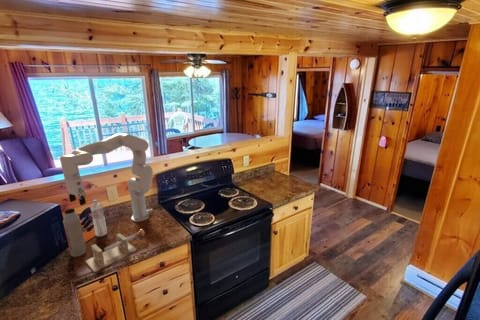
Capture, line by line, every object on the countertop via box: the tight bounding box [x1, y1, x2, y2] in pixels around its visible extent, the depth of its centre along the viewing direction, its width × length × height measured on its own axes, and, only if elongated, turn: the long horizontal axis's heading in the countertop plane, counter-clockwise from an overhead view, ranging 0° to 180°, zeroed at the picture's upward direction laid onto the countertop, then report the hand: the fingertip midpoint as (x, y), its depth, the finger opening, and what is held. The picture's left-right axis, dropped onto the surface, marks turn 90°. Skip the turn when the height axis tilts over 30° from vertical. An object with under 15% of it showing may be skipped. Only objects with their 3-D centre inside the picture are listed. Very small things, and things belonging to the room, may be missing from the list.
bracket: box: [84, 233, 137, 273], centre depth 147 cm, size 24×12×10 cm, turn 140°
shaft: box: [103, 228, 146, 252], centre depth 153 cm, size 24×4×4 cm, turn 140°
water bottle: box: [90, 199, 108, 238], centre depth 167 cm, size 7×7×25 cm
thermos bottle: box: [62, 208, 87, 258], centre depth 148 cm, size 8×8×28 cm
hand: (78, 202), depth 151 cm, fingers open, 9 cm apart
